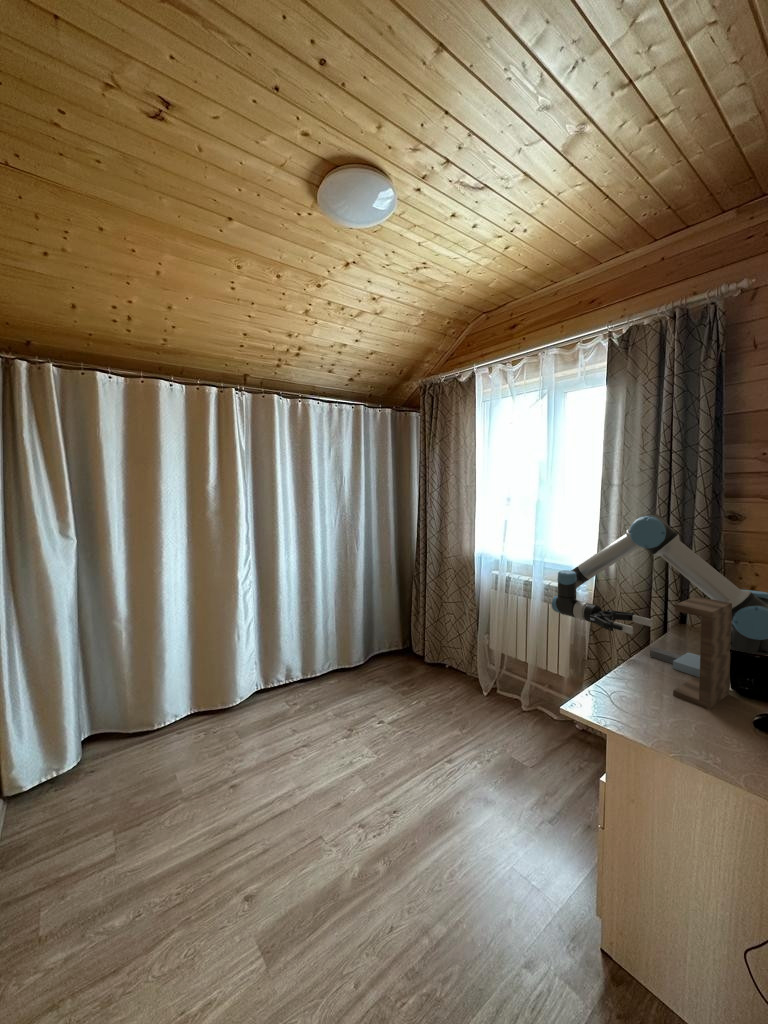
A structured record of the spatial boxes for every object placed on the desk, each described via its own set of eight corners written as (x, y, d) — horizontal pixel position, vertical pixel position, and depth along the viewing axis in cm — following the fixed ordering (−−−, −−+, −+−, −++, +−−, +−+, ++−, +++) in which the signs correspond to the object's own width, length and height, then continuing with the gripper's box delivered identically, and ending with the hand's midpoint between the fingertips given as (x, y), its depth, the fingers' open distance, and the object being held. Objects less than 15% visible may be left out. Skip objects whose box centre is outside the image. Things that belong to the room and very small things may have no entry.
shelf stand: (693, 681, 128) (695, 596, 126) (728, 694, 120) (732, 603, 118) (673, 695, 120) (675, 604, 118) (709, 709, 113) (712, 612, 111)
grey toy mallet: (660, 651, 151) (660, 644, 151) (715, 668, 137) (715, 660, 136) (644, 660, 145) (644, 652, 144) (700, 678, 130) (701, 669, 130)
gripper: (604, 615, 175) (657, 629, 157) (570, 627, 162) (624, 644, 144) (604, 598, 175) (658, 610, 157) (570, 609, 162) (624, 623, 144)
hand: (642, 626), depth 150 cm, fingers open, 13 cm apart
